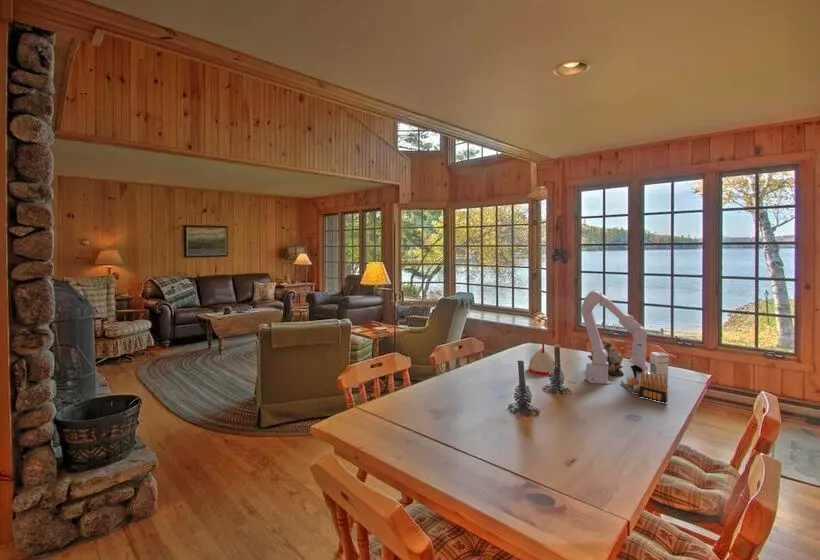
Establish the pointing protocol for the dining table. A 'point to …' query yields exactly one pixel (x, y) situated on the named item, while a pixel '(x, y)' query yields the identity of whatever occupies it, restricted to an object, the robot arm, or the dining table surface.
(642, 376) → the ammunition clip
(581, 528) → the dining table surface
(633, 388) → the vise
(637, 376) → the steel block
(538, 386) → the dining table surface
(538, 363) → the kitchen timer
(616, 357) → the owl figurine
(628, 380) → the block
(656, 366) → the syrup box
